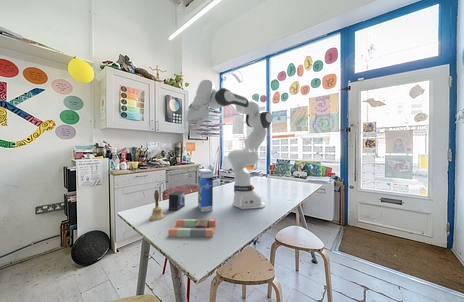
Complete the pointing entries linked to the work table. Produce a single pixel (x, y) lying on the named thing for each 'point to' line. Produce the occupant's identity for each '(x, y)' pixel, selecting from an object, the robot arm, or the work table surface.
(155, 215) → the hand bell
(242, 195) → the robot arm
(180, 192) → the small box
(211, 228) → the multicolored rectangular frame
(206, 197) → the string lights box
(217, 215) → the work table surface
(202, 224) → the walnut block
